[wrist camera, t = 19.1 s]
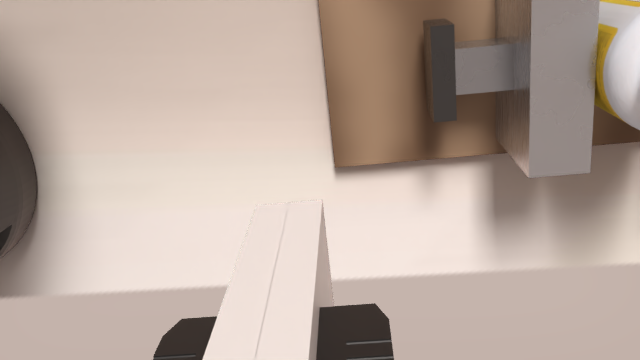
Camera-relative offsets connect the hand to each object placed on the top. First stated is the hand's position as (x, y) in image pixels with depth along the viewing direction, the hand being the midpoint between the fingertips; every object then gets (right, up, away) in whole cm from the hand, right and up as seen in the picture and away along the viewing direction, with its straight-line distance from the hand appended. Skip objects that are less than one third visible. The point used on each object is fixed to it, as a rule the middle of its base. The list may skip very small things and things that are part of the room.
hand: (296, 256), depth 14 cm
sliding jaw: (+10, +9, +21) cm, 25 cm away
